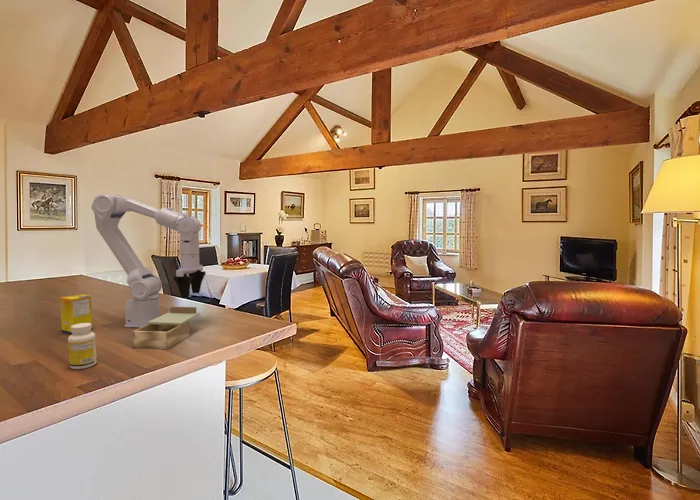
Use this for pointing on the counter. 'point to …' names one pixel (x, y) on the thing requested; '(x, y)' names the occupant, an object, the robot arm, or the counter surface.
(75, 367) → the supplement bottle
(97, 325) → the counter surface
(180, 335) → the box
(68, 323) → the supplement box
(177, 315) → the lid
